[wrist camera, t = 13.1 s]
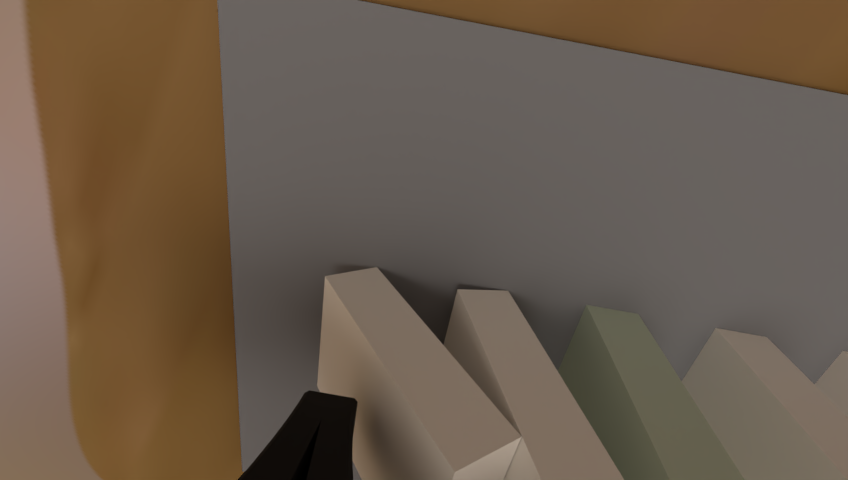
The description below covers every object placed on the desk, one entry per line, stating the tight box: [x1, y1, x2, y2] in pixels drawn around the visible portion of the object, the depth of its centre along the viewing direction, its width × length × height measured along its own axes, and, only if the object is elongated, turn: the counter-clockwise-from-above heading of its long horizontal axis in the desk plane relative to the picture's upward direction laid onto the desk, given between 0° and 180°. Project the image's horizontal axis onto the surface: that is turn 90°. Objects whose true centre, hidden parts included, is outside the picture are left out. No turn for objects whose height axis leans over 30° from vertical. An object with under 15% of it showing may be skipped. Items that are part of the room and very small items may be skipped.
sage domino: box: [558, 305, 744, 480], centre depth 12 cm, size 2×5×7 cm, turn 171°
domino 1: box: [317, 267, 521, 480], centre depth 12 cm, size 2×5×7 cm
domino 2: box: [444, 289, 624, 480], centre depth 12 cm, size 2×5×7 cm, turn 170°
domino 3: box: [682, 328, 848, 480], centre depth 12 cm, size 2×5×7 cm, turn 171°
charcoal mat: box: [218, 0, 848, 480], centre depth 15 cm, size 20×26×1 cm
